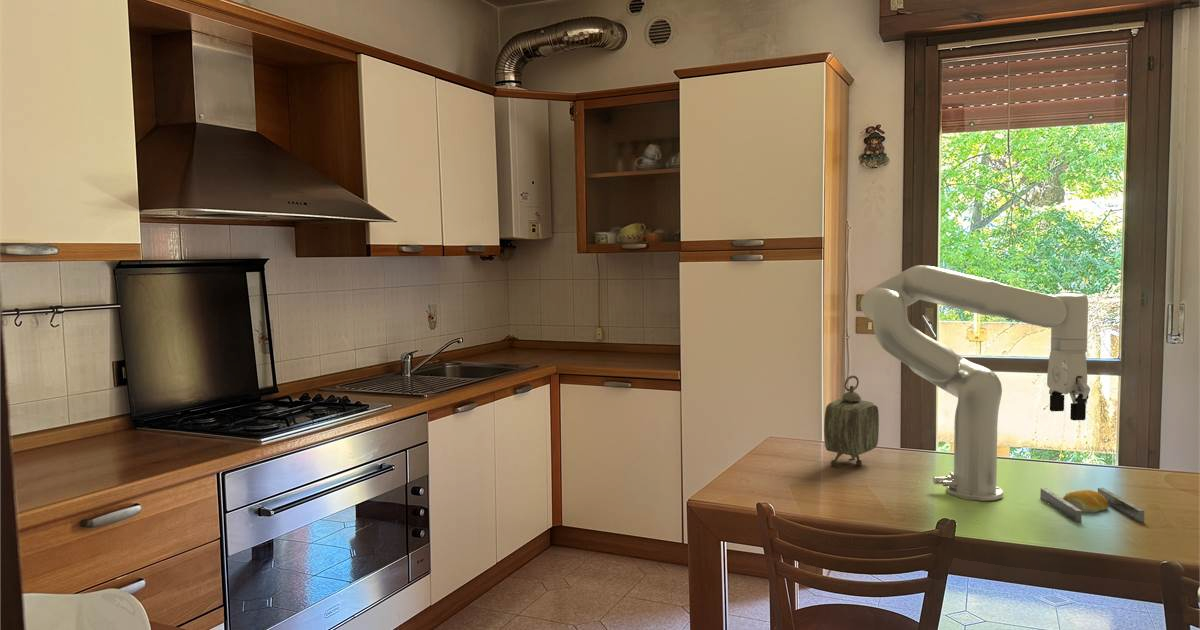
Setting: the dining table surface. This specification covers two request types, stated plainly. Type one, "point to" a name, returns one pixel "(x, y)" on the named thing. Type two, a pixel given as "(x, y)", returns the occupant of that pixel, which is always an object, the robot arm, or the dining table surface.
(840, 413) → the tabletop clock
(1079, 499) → the bread roll
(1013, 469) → the dining table surface
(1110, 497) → the chute
